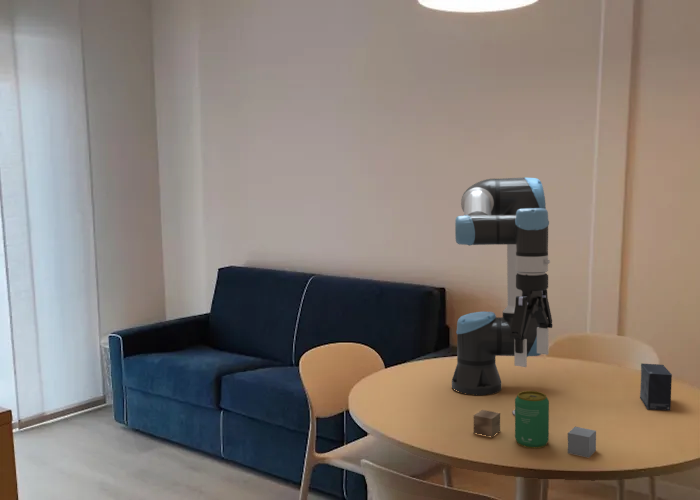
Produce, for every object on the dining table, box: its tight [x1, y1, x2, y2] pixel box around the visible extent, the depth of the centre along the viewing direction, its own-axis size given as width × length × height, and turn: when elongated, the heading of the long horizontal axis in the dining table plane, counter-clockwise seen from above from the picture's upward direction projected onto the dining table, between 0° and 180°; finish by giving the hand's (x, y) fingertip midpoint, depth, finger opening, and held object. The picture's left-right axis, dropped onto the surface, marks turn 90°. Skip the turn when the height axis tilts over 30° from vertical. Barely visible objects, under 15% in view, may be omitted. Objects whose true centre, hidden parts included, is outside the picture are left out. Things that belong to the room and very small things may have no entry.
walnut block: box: [473, 409, 501, 438], centre depth 178 cm, size 5×5×5 cm
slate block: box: [567, 426, 597, 458], centre depth 164 cm, size 5×5×5 cm
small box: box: [639, 363, 673, 412], centre depth 195 cm, size 11×6×10 cm, turn 168°
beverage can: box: [514, 390, 550, 449], centre depth 170 cm, size 8×8×12 cm
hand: (531, 359), depth 168 cm, fingers open, 13 cm apart
